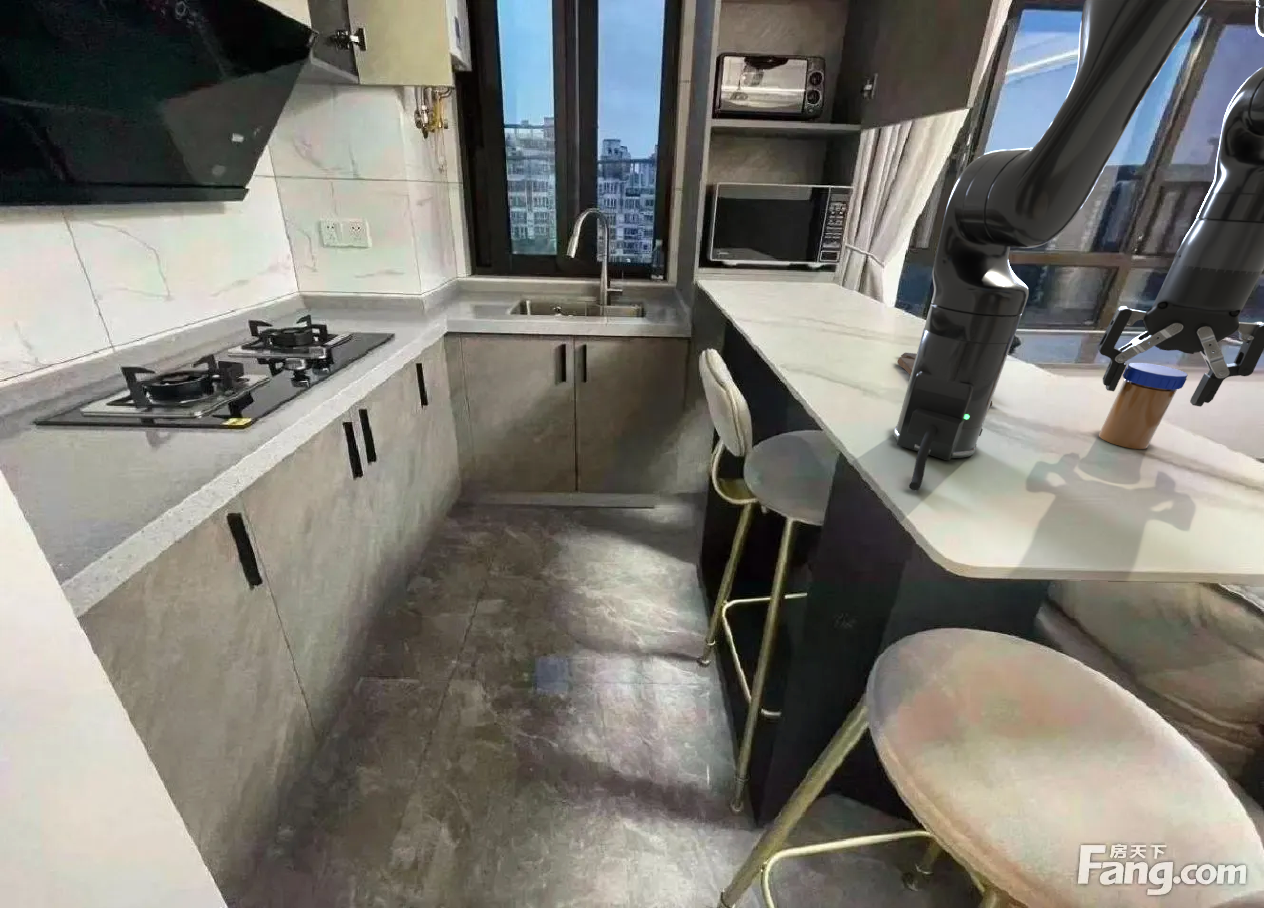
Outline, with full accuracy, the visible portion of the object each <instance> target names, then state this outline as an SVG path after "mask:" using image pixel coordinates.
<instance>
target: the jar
mask: <svg viewBox="0 0 1264 908" xmlns="http://www.w3.org/2000/svg"><path fill="white" fill-rule="evenodd" d="M1177 391H1178V389H1160V388H1154V387H1149V386H1144V385H1140V384H1136V383H1133V382H1130V381H1128V380H1126V379H1124V380H1123V382H1122V384H1121V386H1120V388H1119V390H1118V392H1117V395H1116V397H1115V398H1114V401H1113V403H1112V406H1111V408H1110V410H1109V412H1108V413H1107V416H1106V418H1105V420H1104V423H1103V424H1102V427H1101V429H1100V431H1099V433H1098V438H1100V439H1101V440H1103V441H1105V442H1107V443H1110V444H1112V445H1116V446H1119V447H1122V448H1127V449H1133V450H1134V449H1135V450H1144V449H1145V450H1146V449H1147V448H1148V447H1149V445H1150V444H1151V441H1152V439H1153V437H1154V436H1155V434H1156V431H1157V430H1158V428H1159V426H1160V424H1161V422H1162V420H1163V418H1164V416H1165V414H1166V413H1167V410H1168V409H1169V407H1170V405H1171V403H1172V400H1174V397H1175V395H1176V393H1177Z"/></svg>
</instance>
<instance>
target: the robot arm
mask: <svg viewBox="0 0 1264 908" xmlns="http://www.w3.org/2000/svg"><path fill="white" fill-rule="evenodd" d="M1207 1H1208V0H1084V4H1083V7H1082V13H1081V16H1080V17H1081V19H1080V20H1081V21H1080V27H1079V42H1078V60H1077V68H1076V73H1075V77H1074V80H1073V82H1072V84H1071V87H1070V89H1069V91H1068V93H1067V96H1066V98H1065V99H1064V101H1063V103H1062V105H1060V108H1059V110H1058V112H1057V113H1056V115H1055V117H1054V118H1053V120H1052V121H1051V123H1050V125H1048V128H1047V129H1046V130H1045V132H1044V133H1043V134H1042V136H1041V137H1040V139H1039V140H1038V141H1037V143H1036V144H1035V145H1034V146H1033V147H1030V148H1029V147H1028V148H1013V149H999V150H993V151H989V152H986V153H984V154H981V155H979V156H978V157H976V158H975V159H973V160H972V161H971V162H970V163H969V164H968V165H967V166H966V167H965V168H964V170H963V171H962V172H961V173H960V174H959V176H958V178H957V180H956V182H955V184H954V186H953V188H952V190H951V193H950V195H949V198H948V201H947V204H946V208H945V211H944V215H943V220H942V225H941V229H940V234H939V238H938V242H937V246H936V251H935V256H934V260H933V265H932V266H933V267H932V283H933V293H932V298H931V302H930V306H929V309H928V312H927V317H926V319H925V323H924V327H923V330H922V334H921V337H920V341H919V344H918V348H917V352H916V354H917V355H916V359H915V362H914V366H913V369H912V373H911V376H910V375H909V376H910V377H909V380H908V384H907V388H906V391H905V394H904V397H903V398H904V399H903V402H902V405H901V409H900V413H899V416H898V420H897V424H896V426H895V428H894V432H893V437H894V439H895V440H896V445H897V446H898V447H902V448H906V449H909V450H912V451H915V452H917V455H916V458H915V463H914V469H913V473H912V478H911V481H910V482H909V485H908V486H909V487H908V488H909V489H910V490H911V491H914V492H915V491H918V490H919V489H920V488H921V485H922V483H923V480H924V475H925V469H926V464H927V459H928V456H931V457H935V458H938V459H941V460H944V461H950V460H951V459H961V458H962V459H963V458H967V457H971V456H972V455H974V453H975V451H976V448H977V443H978V441H979V438H980V437H981V435H982V433H983V430H984V429H983V426H984V423H985V420H986V417H987V414H988V412H989V409H990V407H989V406H990V403H991V400H992V401H993V397H994V394H995V392H996V388H997V386H998V383H999V380H1000V378H1001V374H1002V372H1003V369H1004V366H1005V363H1006V360H1007V357H1008V355H1009V352H1010V349H1011V347H1012V345H1013V342H1014V341H1013V340H1014V338H1015V335H1016V333H1017V331H1018V327H1019V325H1020V322H1021V319H1022V316H1023V313H1024V311H1025V308H1026V305H1027V302H1028V299H1029V294H1030V290H1029V287H1028V286H1027V285H1026V284H1025V283H1024V282H1023V281H1022V280H1021V279H1020V278H1019V277H1018V276H1017V275H1016V274H1015V273H1014V271H1013V270H1012V267H1011V266H1010V262H1009V261H1010V260H1009V255H1010V251H1011V248H1015V249H1016V248H1018V249H1034V248H1038V247H1039V248H1040V247H1042V246H1044V245H1046V244H1048V243H1050V242H1051V241H1053V240H1054V239H1056V238H1057V237H1058V236H1059V235H1061V234H1062V233H1063V232H1064V231H1065V230H1066V229H1067V227H1068V226H1069V225H1070V224H1071V223H1072V222H1073V221H1074V219H1075V218H1076V217H1077V215H1078V214H1079V212H1080V211H1081V209H1082V208H1083V206H1084V204H1085V203H1086V201H1087V200H1088V199H1089V196H1090V195H1091V193H1092V192H1093V190H1094V187H1096V184H1097V183H1098V181H1099V179H1100V177H1101V175H1102V173H1103V172H1104V169H1105V167H1106V166H1107V164H1108V162H1109V160H1110V158H1111V156H1112V155H1113V153H1114V151H1115V150H1116V147H1117V145H1118V144H1119V142H1120V140H1121V138H1122V136H1123V134H1124V132H1125V130H1126V129H1127V127H1128V126H1129V123H1130V122H1131V120H1132V118H1133V116H1134V114H1135V113H1136V111H1137V109H1138V108H1139V106H1140V104H1141V103H1142V101H1143V100H1144V98H1145V96H1146V94H1147V93H1148V91H1149V90H1150V88H1151V87H1152V85H1153V83H1154V82H1155V80H1156V78H1157V77H1158V76H1159V74H1160V73H1161V70H1162V69H1163V68H1164V66H1165V65H1166V62H1167V61H1168V59H1169V58H1170V56H1171V55H1172V53H1173V51H1174V50H1175V49H1176V46H1177V45H1178V43H1179V42H1180V40H1181V39H1182V37H1183V36H1184V34H1185V33H1186V31H1187V29H1189V27H1190V25H1191V23H1192V22H1193V21H1194V19H1195V18H1196V16H1197V15H1198V14H1199V12H1200V11H1201V9H1202V8H1203V6H1204V5H1205V4H1206V2H1207ZM1256 6H1257V7H1256V13H1255V27H1256V31H1257V33H1258V34H1259V35H1260V36H1262V37H1264V0H1256ZM1263 271H1264V66H1262V67H1261V68H1259V69H1258V70H1256V71H1255V72H1254V73H1252V74H1251V76H1249V77H1248V78H1247V79H1246V80H1245V82H1243V84H1242V85H1241V86H1240V87H1239V89H1237V91H1236V93H1235V94H1234V95H1233V97H1232V99H1231V101H1229V104H1228V105H1227V108H1226V112H1225V114H1224V117H1223V121H1222V127H1221V134H1220V138H1219V145H1218V150H1217V156H1216V162H1215V173H1214V179H1213V182H1212V184H1211V186H1210V188H1209V190H1208V193H1207V194H1206V196H1205V198H1204V201H1203V202H1202V205H1201V207H1200V209H1199V212H1198V213H1197V215H1196V219H1195V220H1194V222H1193V224H1192V226H1191V227H1190V229H1189V230H1188V232H1187V233H1186V234H1185V237H1184V238H1183V240H1182V242H1181V244H1180V246H1179V248H1178V249H1177V251H1176V252H1175V254H1174V257H1173V261H1172V263H1171V265H1170V268H1169V270H1168V272H1167V273H1166V274H1167V275H1166V276H1165V279H1164V281H1163V282H1162V283H1163V284H1162V285H1161V287H1160V289H1159V292H1158V294H1157V296H1156V298H1155V300H1154V302H1153V304H1152V305H1151V306H1150V308H1149V309H1147V310H1146V311H1144V310H1139V309H1132V308H1129V307H1128V306H1126V305H1121V306H1119V307H1117V309H1116V310H1115V312H1114V314H1113V316H1112V318H1111V320H1110V322H1109V324H1108V325H1107V327H1106V330H1105V331H1104V334H1103V335H1102V338H1101V340H1100V341H1099V343H1098V345H1097V350H1098V352H1099V353H1100V355H1102V356H1105V357H1107V358H1109V359H1110V361H1109V363H1108V366H1107V368H1106V370H1105V372H1104V375H1103V377H1102V384H1103V385H1104V386H1105V390H1106V391H1108V392H1115V391H1116V389H1117V387H1118V384H1119V382H1120V380H1121V378H1122V377H1123V374H1124V371H1125V369H1126V368H1127V363H1126V362H1127V361H1129V360H1131V359H1133V358H1134V357H1136V356H1138V355H1139V354H1142V353H1144V352H1147V351H1148V350H1150V349H1152V348H1153V347H1155V348H1157V349H1159V350H1161V351H1169V352H1171V351H1179V352H1181V353H1184V354H1188V355H1189V354H1190V355H1194V354H1196V353H1200V355H1201V356H1202V358H1203V360H1204V361H1205V364H1206V366H1207V369H1208V372H1206V373H1203V375H1202V378H1201V379H1200V381H1199V382H1198V384H1197V386H1196V388H1195V390H1194V392H1193V394H1192V396H1191V397H1190V400H1189V401H1190V402H1189V403H1190V404H1191V405H1192V406H1194V407H1200V408H1201V407H1203V405H1204V404H1205V403H1206V404H1209V403H1211V402H1212V401H1213V400H1214V398H1215V397H1216V394H1217V392H1218V391H1219V390H1220V387H1221V385H1222V384H1223V382H1224V381H1225V380H1226V379H1228V378H1230V377H1239V376H1240V377H1249V376H1250V375H1252V374H1253V373H1254V371H1255V369H1256V366H1257V364H1258V362H1259V361H1260V358H1261V356H1262V354H1263V352H1264V322H1263V321H1255V322H1245V321H1244V322H1243V321H1239V317H1240V314H1241V312H1242V310H1243V309H1244V307H1245V305H1246V303H1247V301H1248V299H1249V298H1250V295H1251V294H1252V291H1253V290H1254V288H1255V286H1256V284H1257V282H1258V280H1259V278H1260V277H1261V275H1262V273H1263ZM1138 321H1141V322H1142V324H1143V326H1144V329H1145V331H1144V332H1142V333H1141V334H1139V335H1137V336H1136V337H1134V338H1133V339H1131V340H1130V341H1129V342H1128V343H1126V344H1124V345H1122V346H1121V347H1119V348H1118V347H1116V345H1117V343H1118V341H1119V339H1120V337H1121V335H1122V334H1123V331H1124V330H1125V328H1130V327H1132V326H1134V324H1135V323H1136V322H1138ZM1236 332H1237V333H1238V339H1239V340H1240V341H1242V344H1241V346H1240V348H1239V350H1238V352H1237V354H1236V356H1235V359H1234V361H1233V363H1232V362H1231V363H1226V360H1225V357H1224V354H1223V352H1222V349H1221V348H1220V345H1219V344H1218V343H1219V342H1221V341H1223V340H1224V339H1226V338H1228V337H1229V336H1232V335H1233V334H1235V333H1236Z"/></svg>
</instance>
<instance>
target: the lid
mask: <svg viewBox="0 0 1264 908" xmlns="http://www.w3.org/2000/svg"><path fill="white" fill-rule="evenodd" d="M1187 377H1189V375H1188V373H1187V372H1185V371H1183V370H1181V369H1177V368H1174V367H1170V366H1166V365H1162V364H1161V365H1160V364H1155V363H1148V362H1130V363H1129V364H1128V365H1127V366H1126V367H1125V369H1124V372H1123V374H1122V378H1123V379H1124V380H1125V379H1126V380H1128V381H1130V382H1133V383H1136V384H1140V385H1144V386H1149V387H1154V388H1160V389H1177V390H1180V389H1182V388H1184V386H1185V383H1186V381H1187V379H1188V378H1187Z"/></svg>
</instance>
